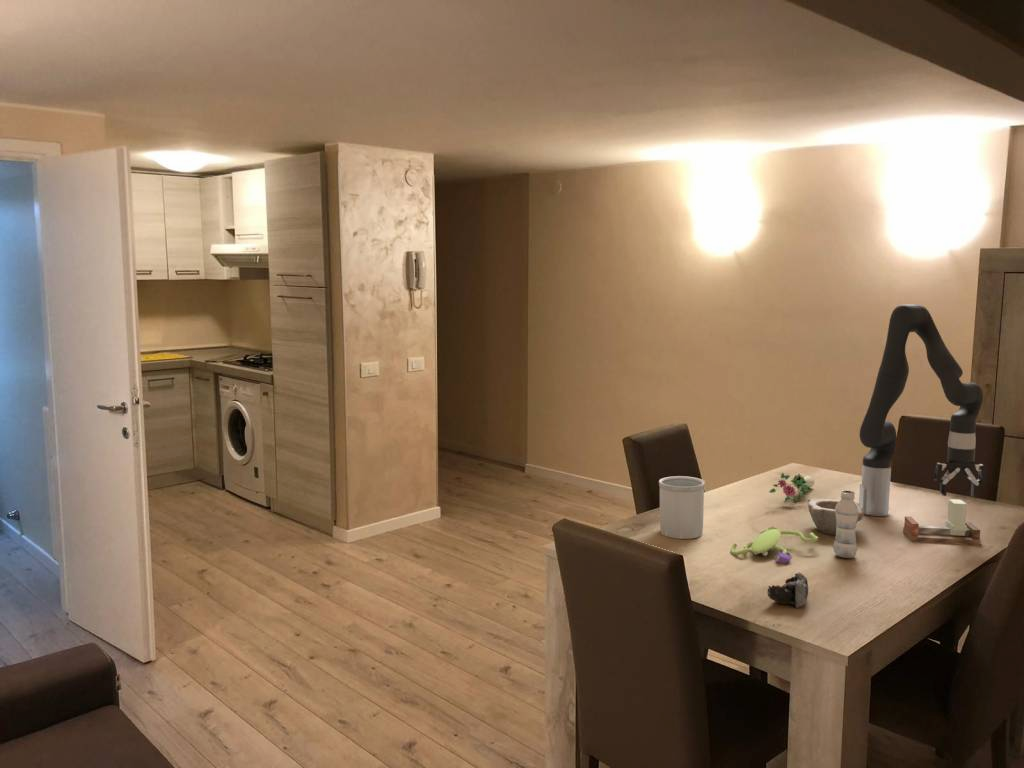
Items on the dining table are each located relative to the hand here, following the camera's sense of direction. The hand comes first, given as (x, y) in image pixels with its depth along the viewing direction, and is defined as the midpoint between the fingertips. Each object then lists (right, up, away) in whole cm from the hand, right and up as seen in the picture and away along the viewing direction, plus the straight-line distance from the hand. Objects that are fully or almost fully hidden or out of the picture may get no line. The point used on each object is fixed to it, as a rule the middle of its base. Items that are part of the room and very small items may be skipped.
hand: (958, 495), depth 256 cm
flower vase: (-33, -8, +52) cm, 62 cm away
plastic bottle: (-42, -17, -14) cm, 48 cm away
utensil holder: (-86, -14, +9) cm, 88 cm away
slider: (0, -12, +2) cm, 12 cm away
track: (-4, -14, +3) cm, 15 cm away
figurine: (-61, -16, -8) cm, 64 cm away
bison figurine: (-70, -21, -47) cm, 87 cm away
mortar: (-35, -13, +11) cm, 39 cm away
